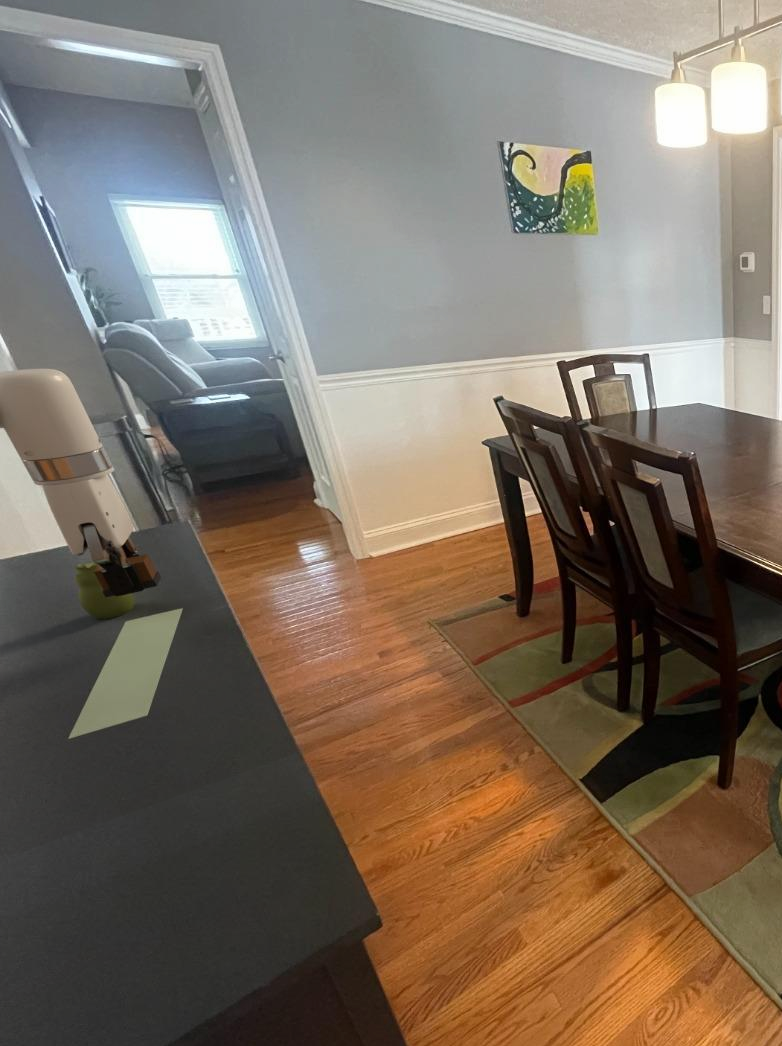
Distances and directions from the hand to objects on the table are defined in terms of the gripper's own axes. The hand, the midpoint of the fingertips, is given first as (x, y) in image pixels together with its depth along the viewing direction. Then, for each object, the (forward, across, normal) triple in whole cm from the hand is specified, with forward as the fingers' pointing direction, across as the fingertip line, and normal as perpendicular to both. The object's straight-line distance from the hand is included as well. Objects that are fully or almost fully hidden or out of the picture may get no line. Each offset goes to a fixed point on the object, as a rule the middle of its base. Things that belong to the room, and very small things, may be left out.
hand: (132, 585), depth 87 cm
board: (+8, +10, -1) cm, 13 cm away
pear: (+9, -11, -6) cm, 15 cm away
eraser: (0, 0, 0) cm, 0 cm away
